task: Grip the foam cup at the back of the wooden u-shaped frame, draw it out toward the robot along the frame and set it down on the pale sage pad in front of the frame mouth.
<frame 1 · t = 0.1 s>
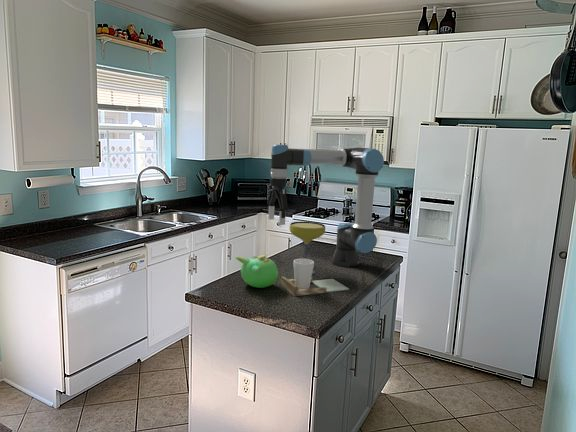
hand: (276, 222, 212), 28 cm above the countertop, fingers open, 13 cm apart
cocktail glass: (304, 272, 229), on the countertop
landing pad: (329, 285, 210), on the countertop
foam cup: (302, 289, 204), resting in wooden u-shaped frame
wooden u-shaped frame: (303, 288, 204), on the countertop
toy bird: (257, 286, 204), on the countertop
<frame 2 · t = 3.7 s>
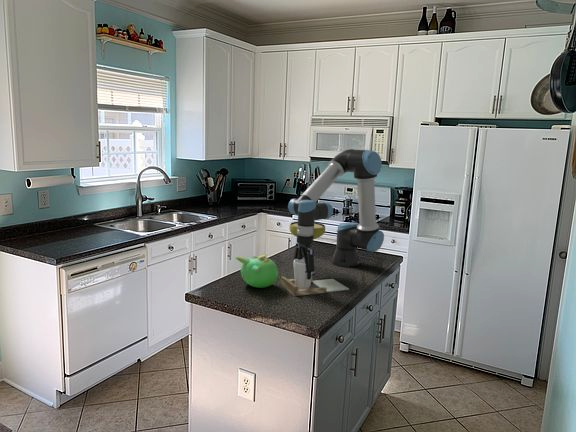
hand: (302, 282, 203), 3 cm above the countertop, fingers closed on foam cup, 9 cm apart
foam cup: (302, 289, 204), resting in wooden u-shaped frame, touching gripper
everything else where it was.
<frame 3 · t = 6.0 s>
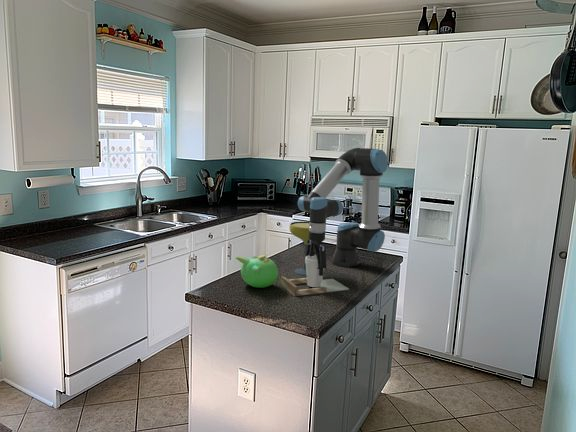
hand: (314, 278, 206), 4 cm above the countertop, fingers closed on foam cup, 9 cm apart
foam cup: (313, 285, 206), point 1 cm above the countertop, touching gripper
everything else where it was.
when the fingers open (4 cm above the countertop, at t = 8.4 s): foam cup stays where it is, resting on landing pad.
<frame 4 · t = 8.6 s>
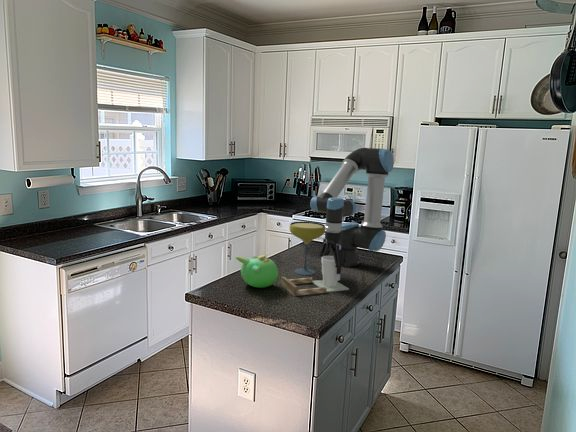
hand: (330, 276, 209), 5 cm above the countertop, fingers open, 11 cm apart
foam cup: (329, 285, 210), resting on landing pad
everything else where it was.
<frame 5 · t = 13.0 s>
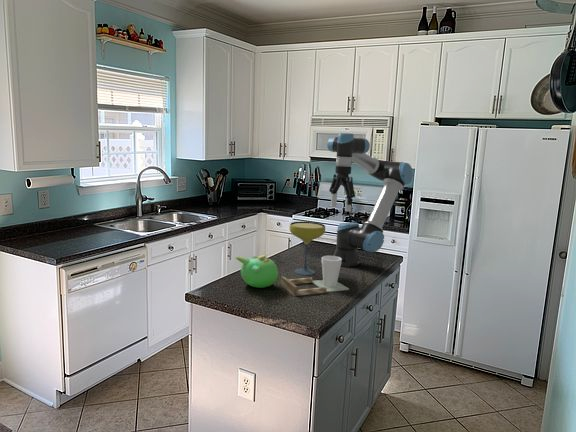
hand: (340, 209, 218), 35 cm above the countertop, fingers open, 13 cm apart
nothing on the countertop moved.
at the end: foam cup inside the target area on the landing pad (0.1 cm from its centre), point 0.3 cm above the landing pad's base; foam cup tilted 0°; the gripper is holding nothing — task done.
